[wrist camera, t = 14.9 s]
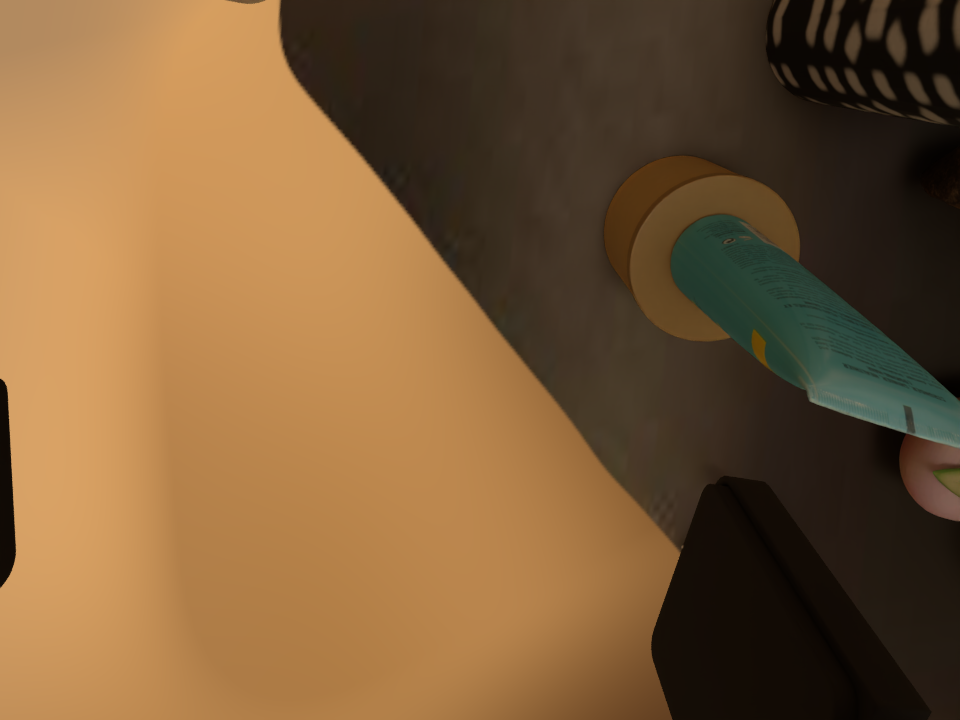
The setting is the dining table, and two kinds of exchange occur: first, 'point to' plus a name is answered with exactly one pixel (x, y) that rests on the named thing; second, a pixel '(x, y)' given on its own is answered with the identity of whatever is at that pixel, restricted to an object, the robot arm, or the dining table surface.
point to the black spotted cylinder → (870, 55)
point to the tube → (807, 330)
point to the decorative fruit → (932, 475)
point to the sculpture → (944, 178)
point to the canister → (667, 214)
